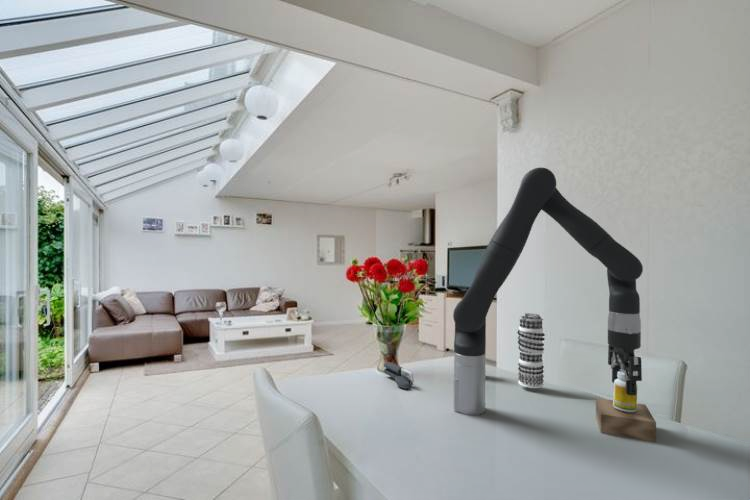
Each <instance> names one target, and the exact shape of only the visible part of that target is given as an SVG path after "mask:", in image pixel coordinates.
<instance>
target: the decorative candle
mask: <svg viewBox="0 0 750 500" xmlns="http://www.w3.org/2000/svg"><path fill="white" fill-rule="evenodd" d="M518 319H519V328H518V330H517V332H516V334H518V335H517V340H518V341H517V344H518V346H517V347H518V348H517V349H518V352H519V359H518V361H519V362H518V365H517V366H518V367H517V369H518V373H517V376H518V377H517V379H518V381H517V382H518V384H519V385H520V386H522V387H525V388H529V389H541V388H543V387H544V381H545V380H544V376H545V375H544V372H545V370H544V368H545V367H544V363H543V362H544V361H543V354H544V352H545V351H544V350H545V348H544V346H545V344H544V343H543V341H545V336H546V334H545V333H544V332H543V331H544V328H543V320H544V319H543V318H542V317H541V316H540V315H539V314H537V313H532V312H531V313H529V312H525V313H523V314H522V315H521V316H520V317H518Z"/></svg>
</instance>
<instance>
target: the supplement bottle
mask: <svg viewBox="0 0 750 500" xmlns="http://www.w3.org/2000/svg"><path fill="white" fill-rule="evenodd" d="M628 373H629V372H628ZM617 377H618V379H616V380H615V381H614V383H613V394H612V400H613V407H614V408H616V409H618V410H620V411H624V412H635V411H636V405H637V404H638V401H637V400H638V384H637V383H636V395H628V394H626V377H625V373H624V372H622V370H621V371H618V373H617Z"/></svg>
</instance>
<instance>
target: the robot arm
mask: <svg viewBox="0 0 750 500" xmlns="http://www.w3.org/2000/svg"><path fill="white" fill-rule="evenodd" d="M541 211H543V212H544V213H545V214H547V215H548V216H550V217H551V218H552V219H553V220H554V221H555V222H556V223H557V224H559V225H560V227H561V228H563V230H565V232H567V233H568V235H570V236H571V238H573V239H574V241H576V243H578V244H579V246H581V247H582V249H584V250H585V251H586V252H587V253H588V254H589V255H591V256H592V257H594V258H595V259H597V260H598V261H599V262H600V263H601V264H603V266H604V267H605V268H606V276H607V285H608V291H609V297H608V316H607V344H608V346H607V347H608V352H607V353H608V356H607V364H608V366H610V369H611V382H612V383H613V384H614V381H615V380H616V379H618V377H617V373H618V371H622V372H624V373H625V377H626V394H628V395H636V384H637V382H642V381H643V379H642V378H643V377H642V376H643V375H642V371H643V369H642V358H641V357H640V356H635V350H638V349H640V348H641V347H642V346H641V345H642V344H641V343H642V342H641V339H642V333H641V332H642V331H641V330H642V325H641V324H642V322H641V314H640V313H641V299H640V295H639V293H638V291H637V280H638V279H639V278H640V277H641V276H642V274H643V271H644V270H643V268H644V267H643V264H642V262H641V260H640V259H639V258H638V257H637V256H636V255H634V254H633V253H632V252H631V251H630V250H628V249H627V248H625V246H623V245H622V244H621V243H619V242H618V241H616V240H615V239H614V238H613V237H612V235H610V233H608V231H606V230H605V229H604V227H602V226H601V225H600V224H598V222H596V220H594V219H592V217H590V216H588V215H587V214H585V213H584V212H582V211H581V210H580V209H579V208H577V207H575V206H574V205H573V204H572V203H571V202H570V201H569V200H568V199H566V198H565V196H563V194H562V193H561V192H560V190H558V188H557V179H556V176H555V174H554V173H553V172H552V171H551V170H550V169H549V168H547V167H535V168H533V169H531V170H529V171H527V172H526V173H525V174H524V175H523V177H522V179H521V182H520V185H519V188H518V190H517V193H516V195H515V198H514V200H513V203H512V204H511V207H510V209H509V210H508V212H507V214H506V215H505V217H504V218H503V219H502V221H501V223H500V224H499V225H498V227H497V229H496V230H495V232H494V234H493V235H492V237H491V239H490V241H489V243H488V245H487V246H486V247H485V251H483V252H484V253H483V254H482V257H481V259H480V262H479V264H478V267H477V269H476V272H475V274H474V275H475V276H474V278H473V280H472V282H471V284H470V286H469V288H468V290H466V293H465V294H464V296H463V297H462V298H461V300H460V301H458V303H457V304H456V306H455V307H454V309H453V313H452V315H453V316H452V317H453V320H454V321H453V322H454V341H453V412H455V413H459V414H464V415H469V416H479V415H482V414H484V413H485V412H486V404H487V403H486V350H487V349H486V348H487V347H486V343H487V340H486V339H487V336H486V335H487V334H486V333H487V332H486V329H487V321H486V320H487V315H488V313H489V310H490V307H491V305H492V303H493V301H494V298H495V297H496V295H497V293H498V291H499V289H500V288H501V287H502V286H503V284H504V283H505V282H506V280H507V278H508V276H509V275H510V273H511V272H512V270H513V269H514V267H515V266H516V264H517V262H518V260H519V258H520V256H521V254H522V252H523V251H524V248H525V246H526V243H527V241H528V239H529V236H530V233H531V231H532V228H533V226H534V223H535V222H536V219H537V217H538V216H539V214H540V212H541ZM628 372H629V373H628Z"/></svg>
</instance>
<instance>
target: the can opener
mask: <svg viewBox="0 0 750 500" xmlns="http://www.w3.org/2000/svg"><path fill="white" fill-rule="evenodd" d="M383 367H384V369H383V373H384V374H386V375H388V376H389V377H391V378H393V379H394V382H395V384H396V385H397V386H398V387H399V388H400V389H401V388H402V389H405V390H406V389H409V388H412V387H413V386H414V382H415V377H414V373H413V372H411V371H409V370H406V369H405V368H404V367H402V366H400V365H397V364H395V363H393V362H391V361H385V362H384V363H383Z"/></svg>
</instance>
